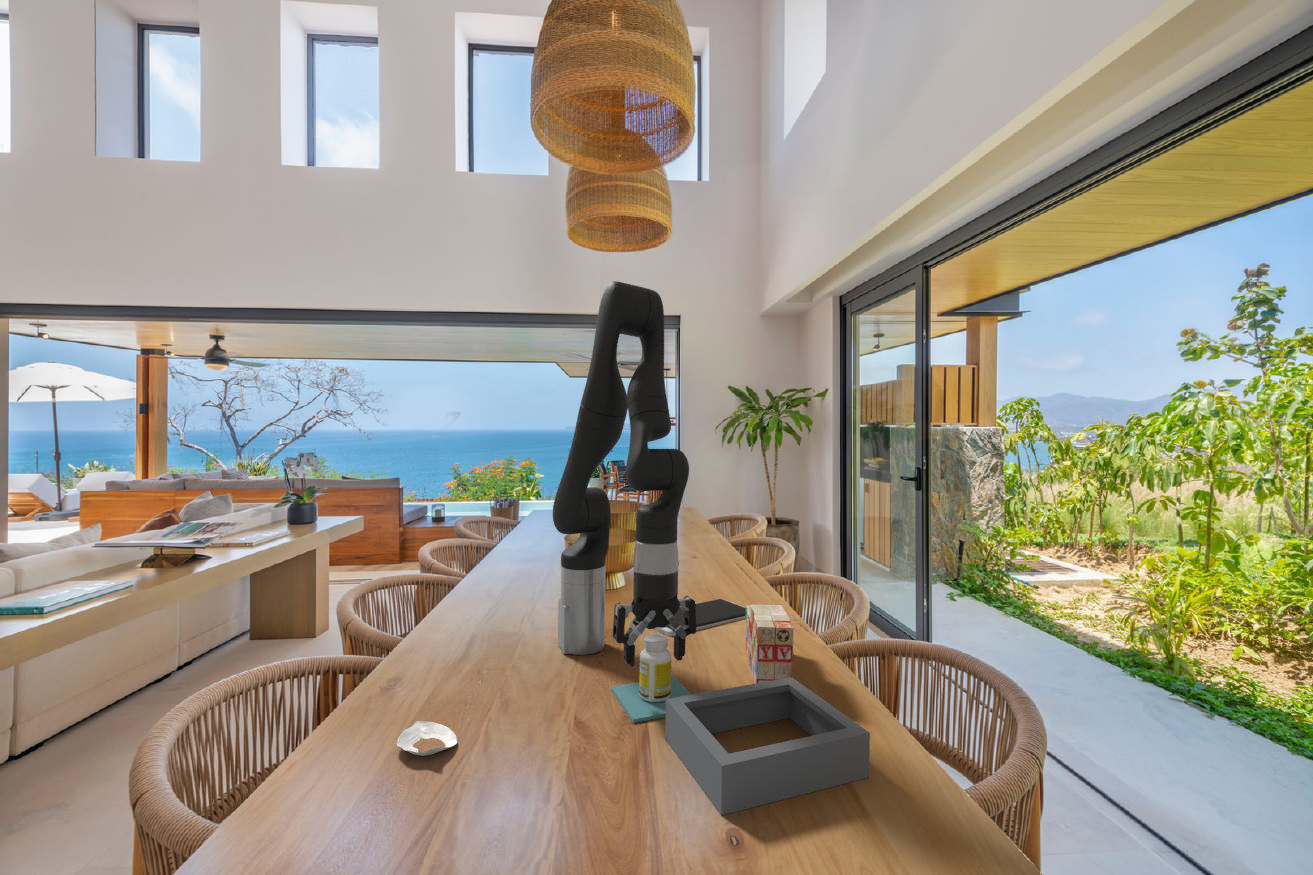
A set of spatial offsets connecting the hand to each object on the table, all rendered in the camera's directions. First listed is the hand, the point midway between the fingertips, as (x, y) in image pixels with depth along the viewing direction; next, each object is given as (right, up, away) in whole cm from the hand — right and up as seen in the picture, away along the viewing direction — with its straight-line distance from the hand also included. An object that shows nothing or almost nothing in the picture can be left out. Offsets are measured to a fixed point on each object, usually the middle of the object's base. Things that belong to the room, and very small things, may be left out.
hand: (654, 662), depth 99 cm
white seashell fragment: (-33, -7, -14) cm, 37 cm away
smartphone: (+11, -6, +43) cm, 44 cm away
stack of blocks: (+21, -7, +13) cm, 26 cm away
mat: (0, -6, 0) cm, 6 cm away
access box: (+15, -7, -17) cm, 24 cm away
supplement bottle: (0, -6, 0) cm, 6 cm away
